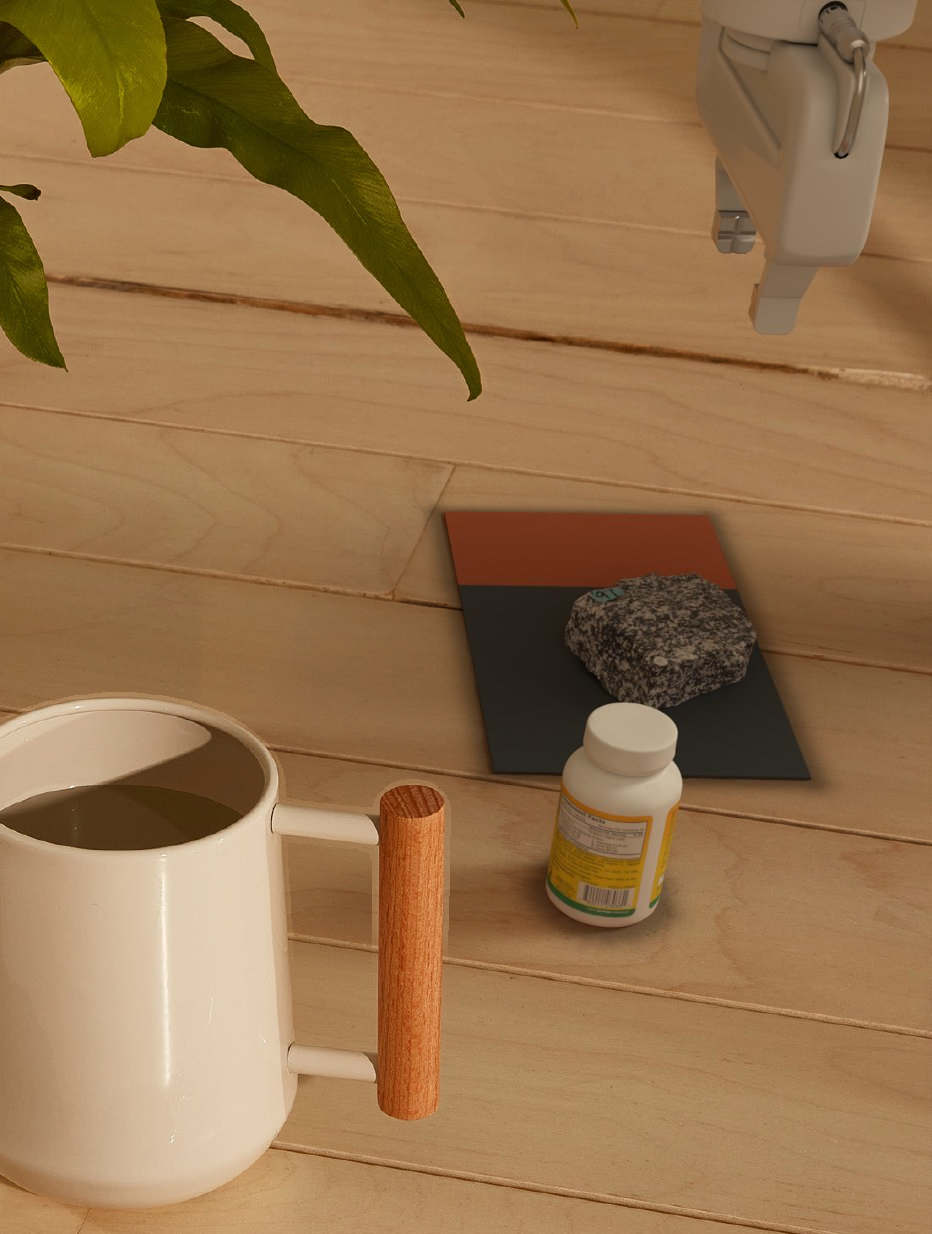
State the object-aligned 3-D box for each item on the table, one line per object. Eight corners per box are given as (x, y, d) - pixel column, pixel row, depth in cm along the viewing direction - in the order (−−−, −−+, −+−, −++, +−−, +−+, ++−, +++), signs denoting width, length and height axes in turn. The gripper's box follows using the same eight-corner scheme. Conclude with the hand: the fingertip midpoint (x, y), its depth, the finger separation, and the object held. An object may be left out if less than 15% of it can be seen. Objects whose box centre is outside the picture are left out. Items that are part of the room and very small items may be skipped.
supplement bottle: (593, 944, 99) (623, 772, 94) (520, 882, 103) (545, 713, 97) (683, 909, 101) (718, 738, 96) (609, 849, 105) (639, 682, 99)
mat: (707, 517, 132) (708, 515, 132) (811, 779, 110) (811, 777, 110) (444, 513, 133) (444, 511, 132) (493, 773, 110) (493, 771, 110)
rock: (788, 676, 117) (803, 608, 115) (634, 720, 114) (647, 652, 111) (700, 611, 123) (712, 545, 120) (550, 651, 119) (560, 585, 117)
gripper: (953, 49, 83) (871, 385, 91) (835, -86, 99) (775, 209, 107) (787, 46, 83) (720, 380, 92) (696, -88, 99) (647, 206, 108)
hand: (749, 287), depth 100 cm, fingers open, 8 cm apart
